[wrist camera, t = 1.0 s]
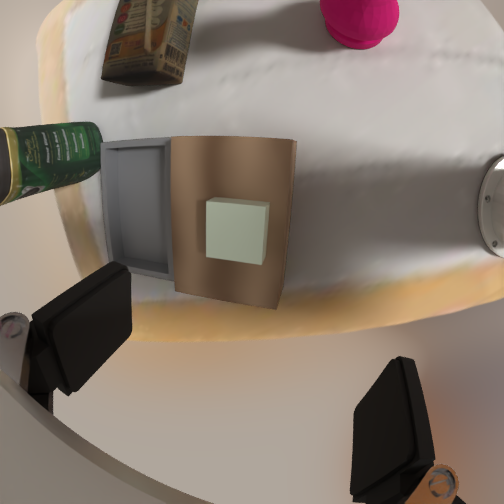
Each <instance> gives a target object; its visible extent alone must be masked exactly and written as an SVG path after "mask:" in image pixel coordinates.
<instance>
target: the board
mask: <svg viewBox="0 0 504 504" xmlns="http://www.w3.org/2000/svg"><path fill="white" fill-rule="evenodd" d="M296 144H297V141H294V140H290V139H278V138H262V137H240V136H177V137H171V229H172V251H173V268H174V282H175V291H177V292H181V293H186V294H191V295H196V296H201V297H207V298H212V299H217V300H222V301H228V302H234V303H239V304H245V305H251V306H257V307H263V308H269V309H275V310H277V306H278V303H279V299H280V296H281V292H282V289H283V283H284V274H285V265H286V256H287V247H288V237H289V227H290V217H291V206H292V195H293V183H294V171H295V158H296ZM214 197H220V198H232V199H243V200H253V201H263V202H270V208H269V222H268V235H267V248H266V257H265V259H264V261H263V263H262V265H258V264H251V263H244V262H238V261H231V260H224V259H217V258H210V257H206V201H208V200H210V199H212V198H214Z"/></svg>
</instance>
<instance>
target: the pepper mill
mask: <svg viewBox="0 0 504 504" xmlns="http://www.w3.org/2000/svg"><path fill="white" fill-rule="evenodd" d="M320 8H321V12H322V14H323V16H324V18H325V24H326V27H327V30H328V32H329V33H330V35H331V36H332V37H333V38H334V39H336V40H337V41H338V42H340V43H341V44H343V45H345V46H348V47H351V48H355V49H368V48H372V47H374V46H376V45H378V44H379V43H380V42H381V40H382V39H383V38H384V37H386V36H388V35H389V34H391V33H392V32H393V30H394V29H395V27H396V25H397V23H398V19H399V6H398V2H397V0H320Z"/></svg>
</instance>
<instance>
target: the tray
mask: <svg viewBox="0 0 504 504" xmlns="http://www.w3.org/2000/svg"><path fill="white" fill-rule="evenodd" d="M101 185H102V202H103V215H104V225H105V234H106V243H107V251H108V258H109V263H110V262H112V261H116V262H118V263H120V264H123V265H125V266H127V267H128V270H129V272H131V273H136V274H140V275H145V276H150V277H155V278H160V279H165V280H170V281H174V268H173V251H172V229H171V137H165V138H147V139H133V140H122V141H112V142H103V143H101Z"/></svg>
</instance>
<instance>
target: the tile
mask: <svg viewBox="0 0 504 504" xmlns="http://www.w3.org/2000/svg"><path fill="white" fill-rule="evenodd" d="M269 208H270V202H263V201H253V200H243V199H232V198H220V197H214V198H212V199H210V200H208V201H206V257H210V258H217V259H224V260H231V261H238V262H244V263H251V264H258V265H262V263H263V261H264V259H265V257H266V248H267V235H268V222H269Z"/></svg>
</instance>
